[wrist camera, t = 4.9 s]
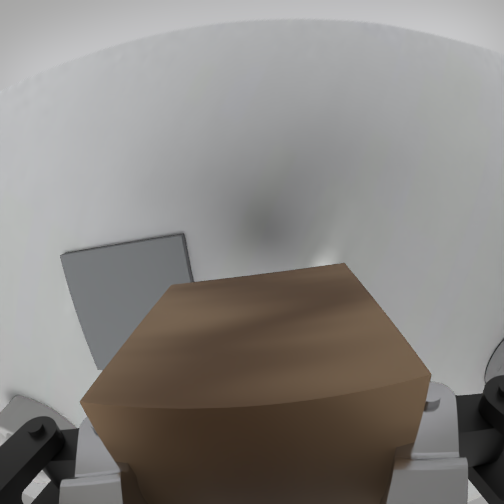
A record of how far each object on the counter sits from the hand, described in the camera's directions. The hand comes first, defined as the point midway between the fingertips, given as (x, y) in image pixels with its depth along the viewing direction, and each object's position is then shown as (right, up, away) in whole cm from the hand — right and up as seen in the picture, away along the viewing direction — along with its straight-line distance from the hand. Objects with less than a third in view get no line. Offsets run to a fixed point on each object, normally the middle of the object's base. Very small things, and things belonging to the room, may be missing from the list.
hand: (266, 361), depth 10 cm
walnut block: (0, 0, +1) cm, 1 cm away
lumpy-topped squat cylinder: (-29, -22, +22) cm, 42 cm away
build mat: (-11, -2, +16) cm, 20 cm away
